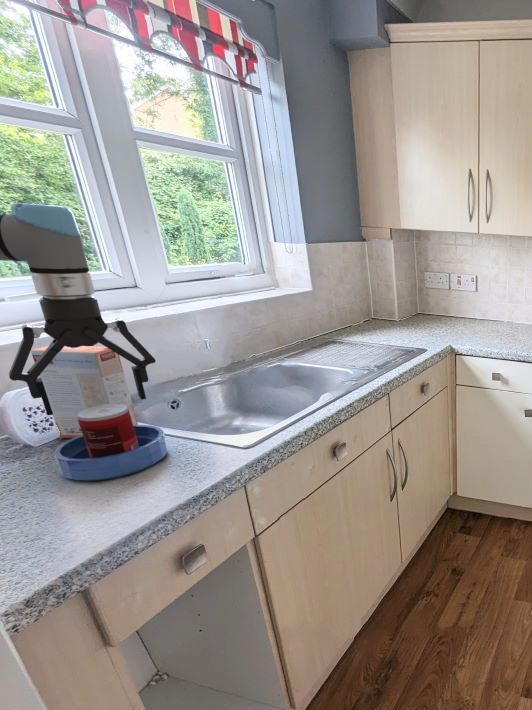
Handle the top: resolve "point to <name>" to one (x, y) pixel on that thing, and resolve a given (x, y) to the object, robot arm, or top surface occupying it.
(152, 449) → the bowl
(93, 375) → the cracker box
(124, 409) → the canned food
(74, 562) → the top surface
